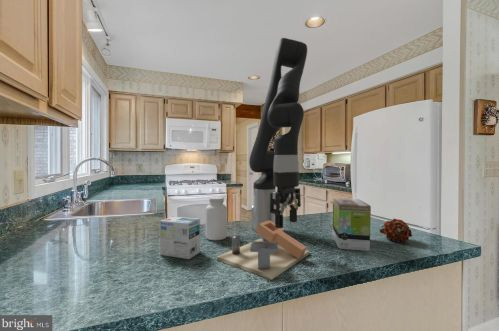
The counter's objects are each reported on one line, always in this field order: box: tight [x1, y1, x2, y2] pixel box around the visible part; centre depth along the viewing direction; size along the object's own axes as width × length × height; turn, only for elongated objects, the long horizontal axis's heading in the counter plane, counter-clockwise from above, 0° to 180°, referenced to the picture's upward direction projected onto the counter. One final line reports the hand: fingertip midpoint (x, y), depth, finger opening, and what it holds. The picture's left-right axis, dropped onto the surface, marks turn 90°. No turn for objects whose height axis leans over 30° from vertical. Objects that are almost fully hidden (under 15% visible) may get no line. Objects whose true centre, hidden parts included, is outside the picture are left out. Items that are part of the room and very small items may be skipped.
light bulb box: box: [159, 216, 202, 260], centre depth 76 cm, size 11×7×11 cm, turn 71°
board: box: [216, 238, 311, 281], centre depth 73 cm, size 19×21×1 cm
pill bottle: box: [205, 196, 228, 241], centre depth 91 cm, size 8×8×15 cm
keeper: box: [250, 240, 278, 270], centre depth 65 cm, size 5×7×5 cm
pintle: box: [231, 234, 241, 255], centre depth 73 cm, size 2×2×5 cm
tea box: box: [332, 198, 372, 252], centre depth 85 cm, size 15×10×15 cm, turn 168°
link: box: [255, 220, 308, 259], centre depth 74 cm, size 15×6×3 cm, turn 52°
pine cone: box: [379, 218, 413, 244], centre depth 88 cm, size 8×8×12 cm
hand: (286, 224), depth 73 cm, fingers open, 8 cm apart
